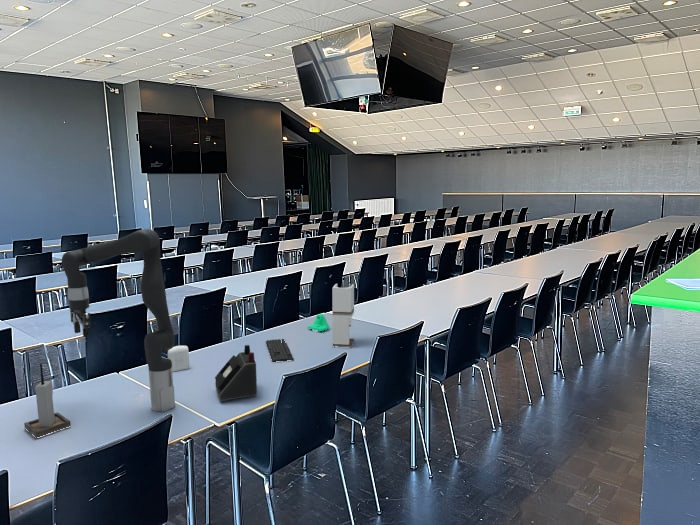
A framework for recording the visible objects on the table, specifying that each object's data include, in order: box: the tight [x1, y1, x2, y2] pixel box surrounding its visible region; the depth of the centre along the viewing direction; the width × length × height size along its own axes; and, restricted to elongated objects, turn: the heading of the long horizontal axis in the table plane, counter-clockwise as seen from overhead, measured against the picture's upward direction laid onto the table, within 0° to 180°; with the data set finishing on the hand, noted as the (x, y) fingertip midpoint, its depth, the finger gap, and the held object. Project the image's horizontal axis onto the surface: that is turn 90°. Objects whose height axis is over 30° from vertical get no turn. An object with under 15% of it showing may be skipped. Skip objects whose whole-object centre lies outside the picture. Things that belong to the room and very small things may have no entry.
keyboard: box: [265, 338, 295, 363], centre depth 283 cm, size 35×11×2 cm, turn 15°
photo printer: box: [167, 345, 190, 373], centre depth 254 cm, size 10×4×12 cm, turn 123°
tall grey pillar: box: [331, 283, 355, 348], centre depth 291 cm, size 11×11×35 cm
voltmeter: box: [214, 344, 258, 403], centre depth 225 cm, size 16×16×20 cm
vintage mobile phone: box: [34, 362, 56, 427], centre depth 193 cm, size 4×5×25 cm
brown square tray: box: [24, 412, 72, 439], centre depth 194 cm, size 12×12×2 cm
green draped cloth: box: [307, 313, 330, 332], centre depth 321 cm, size 12×8×10 cm, turn 54°
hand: (82, 334), depth 214 cm, fingers open, 8 cm apart
